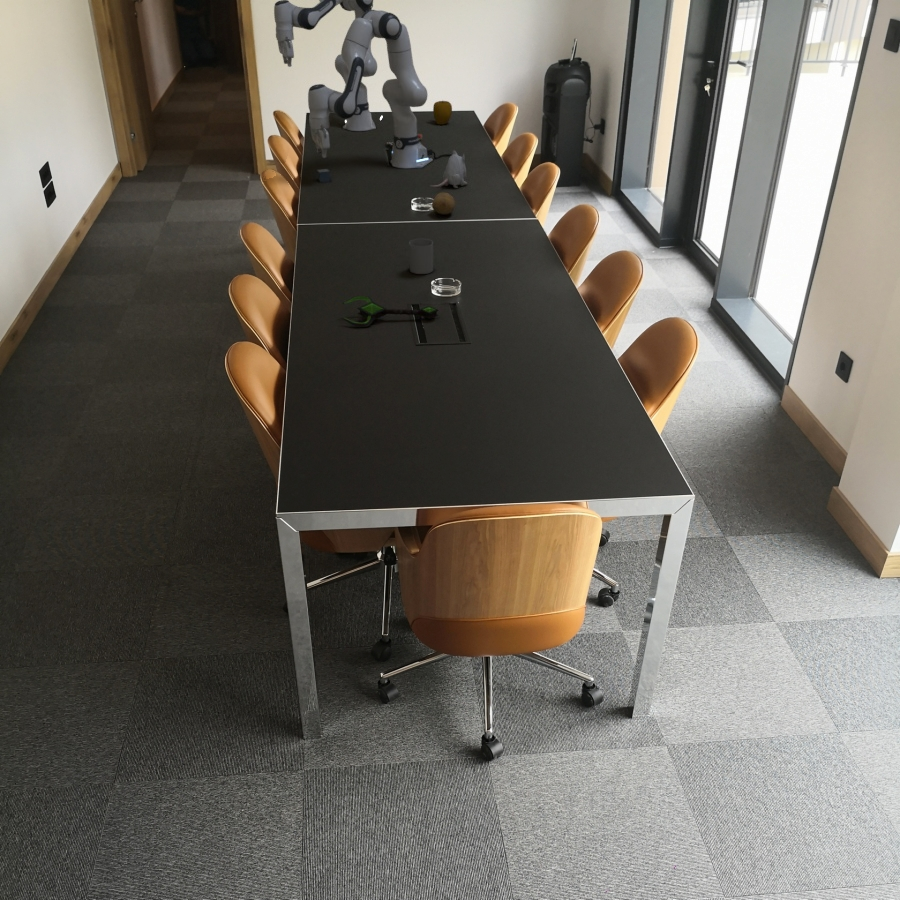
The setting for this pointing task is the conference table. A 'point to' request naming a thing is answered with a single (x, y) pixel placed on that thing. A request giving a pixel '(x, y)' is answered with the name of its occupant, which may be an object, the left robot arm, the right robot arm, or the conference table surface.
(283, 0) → the left robot arm
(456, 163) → the toy
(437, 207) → the potato
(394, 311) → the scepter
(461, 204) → the conference table surface
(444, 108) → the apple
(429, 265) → the cup
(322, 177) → the block
